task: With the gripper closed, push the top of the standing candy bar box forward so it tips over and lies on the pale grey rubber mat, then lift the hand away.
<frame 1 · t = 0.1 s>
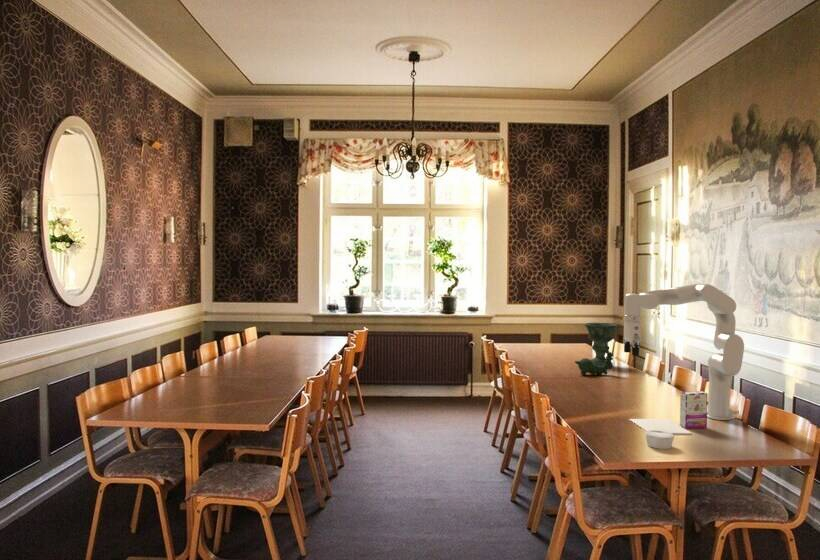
hand: (631, 353, 312), 31 cm above the table, tool pointing down, fingers open, 9 cm apart
mat: (659, 427, 296), on the table
toy figurine: (593, 375, 422), on the table
ramekin: (659, 446, 266), on the table
goblet: (600, 366, 458), on the table
candy bar box: (692, 427, 297), on the table
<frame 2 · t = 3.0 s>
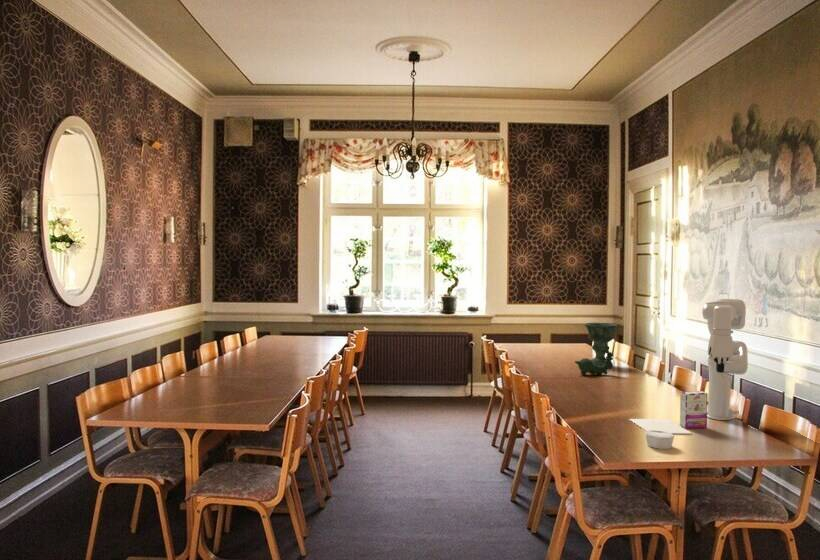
hand: (720, 372, 296), 26 cm above the table, tool pointing down, fingers closed
nothing on the table moved.
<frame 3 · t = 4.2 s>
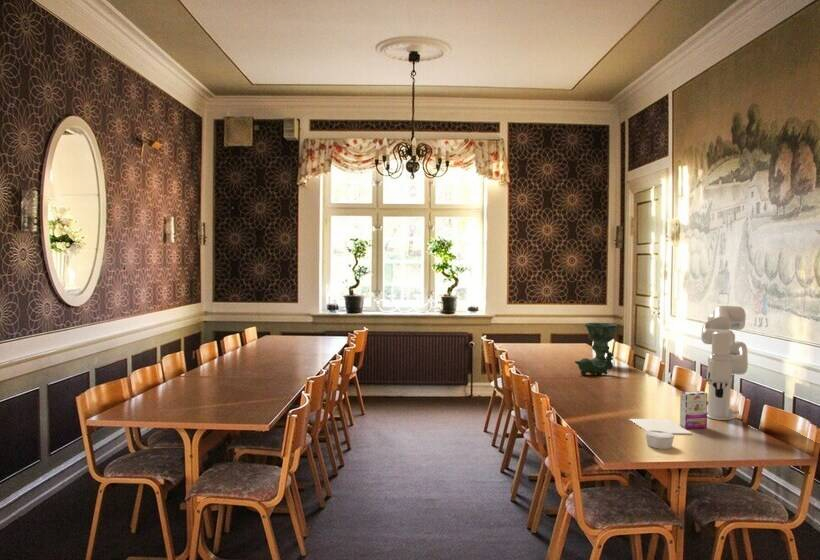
hand: (719, 397, 297), 14 cm above the table, tool pointing down, fingers closed
nothing on the table moved.
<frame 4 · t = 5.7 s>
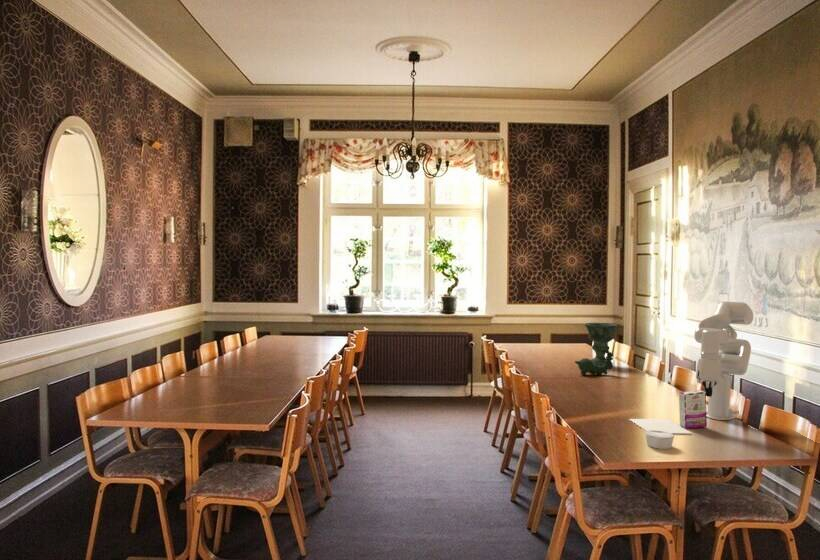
hand: (708, 396, 296), 15 cm above the table, tool pointing down, fingers closed
candy bar box: (692, 427, 297), on the table, touching gripper
everything else where it was.
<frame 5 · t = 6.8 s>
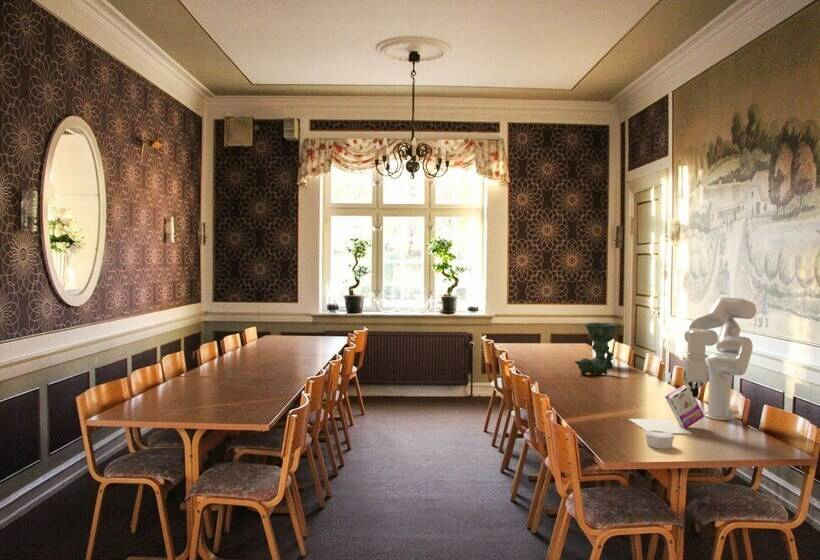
hand: (694, 396, 296), 14 cm above the table, tool pointing down, fingers closed
candy bar box: (692, 422, 296), point 2 cm above the table, touching gripper
everything else where it was.
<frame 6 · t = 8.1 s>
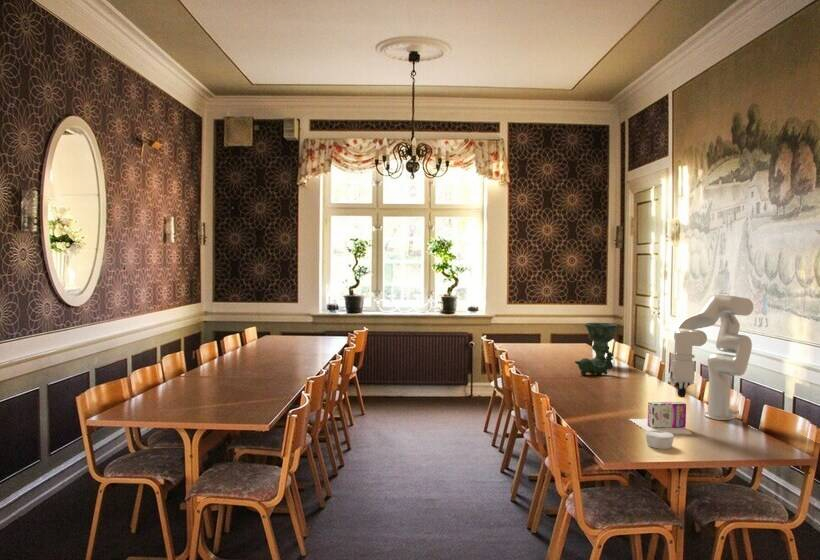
hand: (681, 396, 296), 14 cm above the table, tool pointing down, fingers closed
candy bar box: (683, 414, 296), point 6 cm above the table, touching mat
everything else where it was.
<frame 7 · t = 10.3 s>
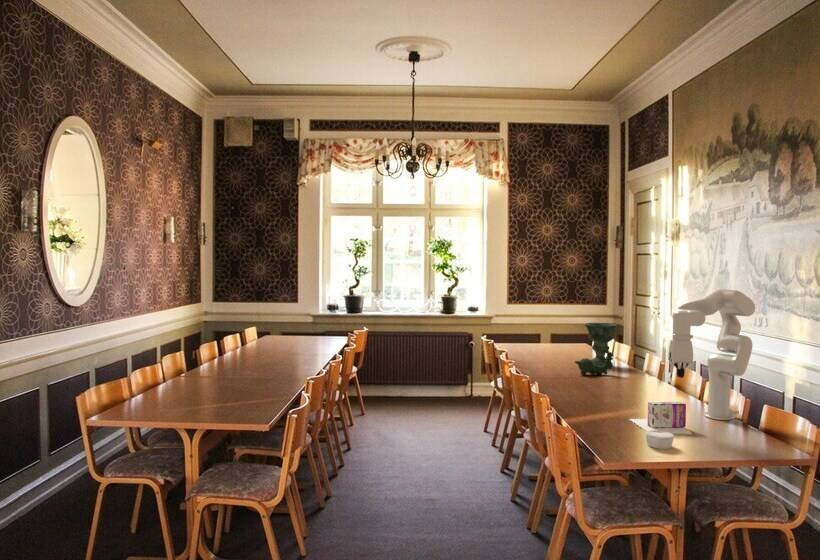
hand: (680, 377, 296), 23 cm above the table, tool pointing down, fingers closed
nothing on the table moved.
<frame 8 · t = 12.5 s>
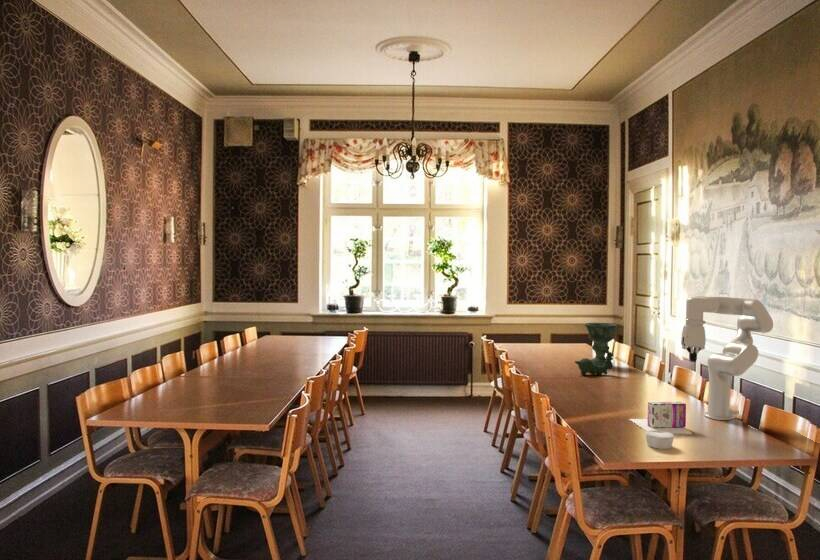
hand: (692, 361, 306), 29 cm above the table, tool pointing down, fingers closed
nothing on the table moved.
at the end: candy bar box tilted 89°; candy bar box touching mat; candy bar box inside the target area (2.2 cm from its centre), point 6.0 cm above the table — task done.
